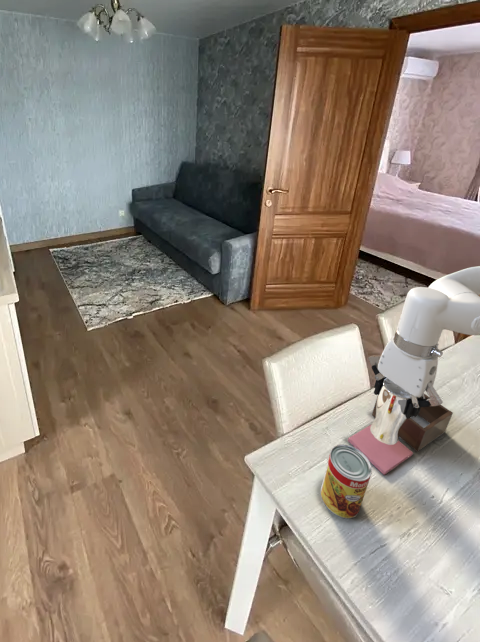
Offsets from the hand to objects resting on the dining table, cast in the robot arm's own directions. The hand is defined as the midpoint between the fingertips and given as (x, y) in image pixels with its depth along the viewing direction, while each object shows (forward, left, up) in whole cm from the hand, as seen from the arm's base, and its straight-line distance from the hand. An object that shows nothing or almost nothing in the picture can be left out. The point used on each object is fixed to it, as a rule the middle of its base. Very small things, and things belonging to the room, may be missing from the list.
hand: (394, 403), depth 81 cm
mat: (0, 0, -15) cm, 15 cm away
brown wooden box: (-7, -12, -15) cm, 20 cm away
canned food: (+8, +18, -15) cm, 25 cm away
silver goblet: (0, 0, -10) cm, 10 cm away
